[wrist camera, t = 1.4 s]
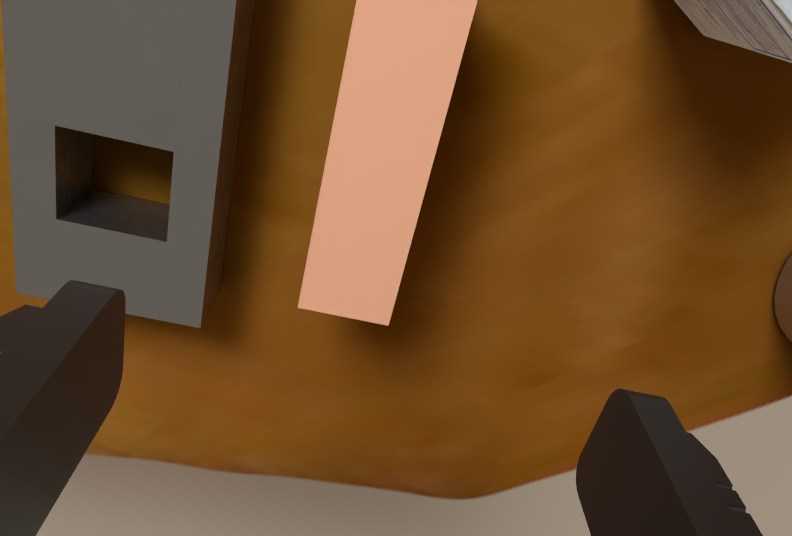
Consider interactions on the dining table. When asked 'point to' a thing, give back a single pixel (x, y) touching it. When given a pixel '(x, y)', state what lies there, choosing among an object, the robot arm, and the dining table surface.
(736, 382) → the dining table surface
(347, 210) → the block
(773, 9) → the medicine box
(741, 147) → the dining table surface
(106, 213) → the rail
